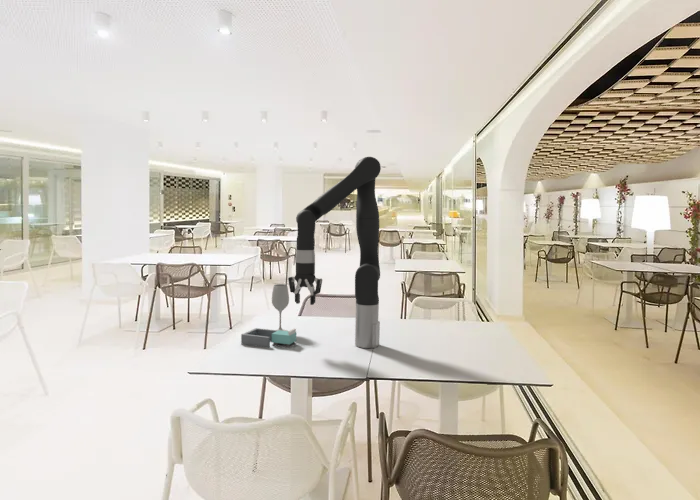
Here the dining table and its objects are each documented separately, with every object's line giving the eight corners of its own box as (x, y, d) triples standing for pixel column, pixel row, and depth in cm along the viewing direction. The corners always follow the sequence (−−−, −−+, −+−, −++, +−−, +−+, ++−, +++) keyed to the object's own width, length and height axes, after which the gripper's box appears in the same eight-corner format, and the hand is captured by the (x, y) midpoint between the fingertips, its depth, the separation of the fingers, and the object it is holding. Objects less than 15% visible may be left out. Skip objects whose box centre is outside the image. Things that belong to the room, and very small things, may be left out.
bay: (281, 340, 202) (281, 330, 201) (268, 347, 191) (268, 337, 190) (255, 337, 206) (256, 328, 205) (241, 344, 195) (241, 334, 194)
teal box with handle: (296, 344, 196) (296, 328, 196) (289, 348, 191) (289, 331, 190) (278, 342, 199) (278, 326, 198) (271, 345, 193) (271, 330, 193)
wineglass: (290, 330, 219) (290, 284, 217) (286, 334, 211) (286, 286, 209) (274, 329, 219) (274, 283, 218) (269, 333, 212) (269, 286, 210)
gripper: (326, 261, 190) (325, 303, 192) (292, 259, 195) (292, 300, 196) (318, 263, 183) (318, 307, 185) (284, 261, 188) (284, 304, 189)
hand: (304, 303), depth 191 cm, fingers open, 5 cm apart
